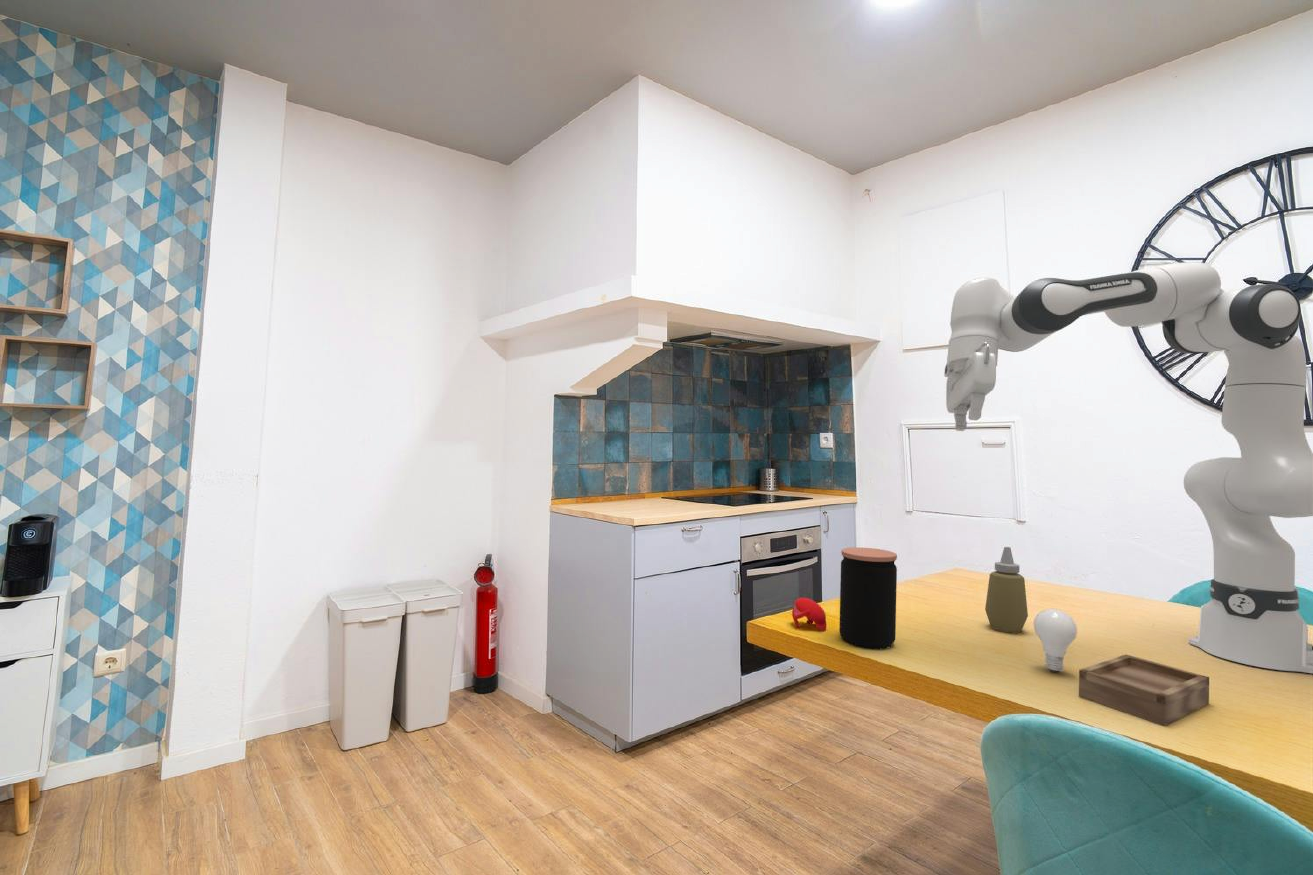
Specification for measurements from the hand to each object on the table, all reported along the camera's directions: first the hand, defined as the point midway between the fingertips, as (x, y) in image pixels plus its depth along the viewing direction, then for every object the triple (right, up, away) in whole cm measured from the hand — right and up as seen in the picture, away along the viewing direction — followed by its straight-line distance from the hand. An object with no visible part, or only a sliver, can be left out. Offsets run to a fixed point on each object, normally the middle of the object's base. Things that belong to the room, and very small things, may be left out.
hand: (967, 425), depth 114 cm
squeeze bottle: (+16, -45, +14) cm, 50 cm away
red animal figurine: (-28, -44, +12) cm, 53 cm away
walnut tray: (+17, -44, -21) cm, 52 cm away
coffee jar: (-18, -44, +4) cm, 48 cm away
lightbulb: (+10, -44, -10) cm, 47 cm away
